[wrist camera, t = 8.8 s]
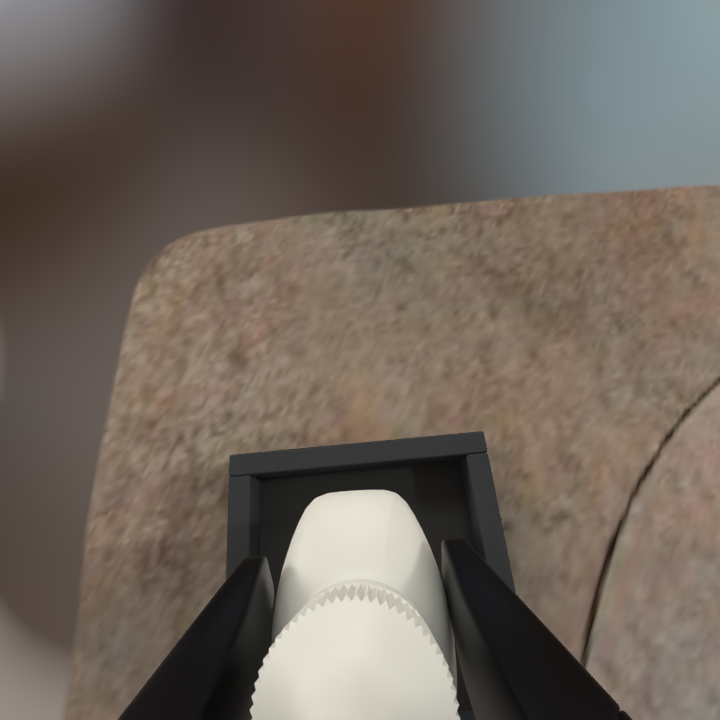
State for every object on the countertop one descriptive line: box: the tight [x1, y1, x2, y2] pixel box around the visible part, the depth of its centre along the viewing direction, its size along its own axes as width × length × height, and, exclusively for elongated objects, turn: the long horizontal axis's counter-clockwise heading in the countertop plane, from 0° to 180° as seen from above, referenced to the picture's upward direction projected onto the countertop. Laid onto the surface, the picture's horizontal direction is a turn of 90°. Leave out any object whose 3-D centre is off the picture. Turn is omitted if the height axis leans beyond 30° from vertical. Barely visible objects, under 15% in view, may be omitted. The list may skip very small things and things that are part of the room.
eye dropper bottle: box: [250, 490, 460, 720], centre depth 9 cm, size 4×6×12 cm
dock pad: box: [226, 431, 516, 720], centre depth 15 cm, size 10×10×2 cm
